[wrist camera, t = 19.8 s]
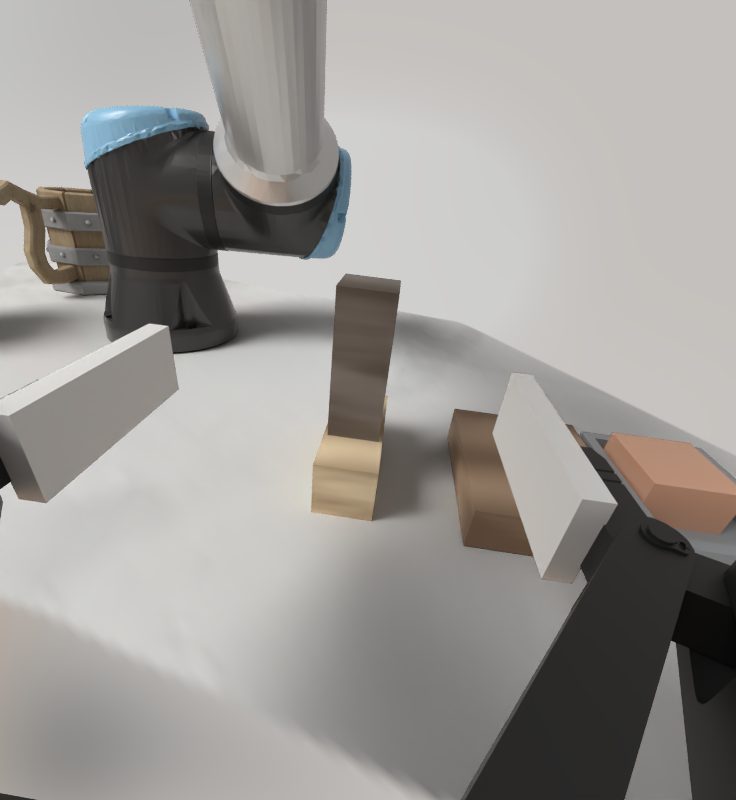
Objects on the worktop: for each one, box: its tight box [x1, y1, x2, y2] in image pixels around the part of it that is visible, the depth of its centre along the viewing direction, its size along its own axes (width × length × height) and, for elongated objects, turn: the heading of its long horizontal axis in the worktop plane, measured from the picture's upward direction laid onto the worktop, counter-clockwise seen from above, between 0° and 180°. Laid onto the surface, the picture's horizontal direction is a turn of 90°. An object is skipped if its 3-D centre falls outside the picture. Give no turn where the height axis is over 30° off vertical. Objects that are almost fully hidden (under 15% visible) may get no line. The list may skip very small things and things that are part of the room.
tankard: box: [0, 180, 110, 295], centre depth 57 cm, size 20×13×15 cm, turn 169°
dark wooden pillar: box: [311, 274, 401, 521], centre depth 26 cm, size 10×4×14 cm, turn 174°
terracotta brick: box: [604, 433, 736, 535], centre depth 28 cm, size 6×6×4 cm
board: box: [448, 409, 587, 556], centre depth 28 cm, size 12×10×3 cm
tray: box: [580, 432, 736, 565], centre depth 28 cm, size 12×10×2 cm
